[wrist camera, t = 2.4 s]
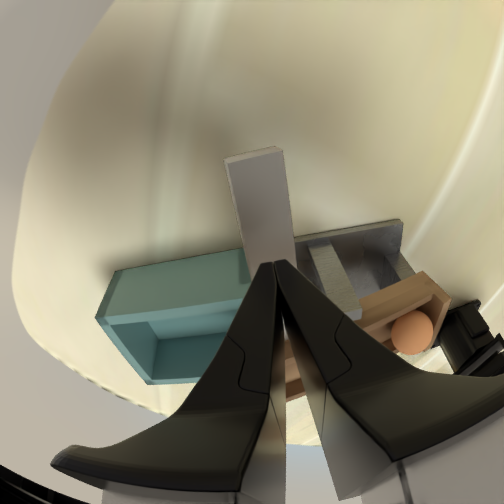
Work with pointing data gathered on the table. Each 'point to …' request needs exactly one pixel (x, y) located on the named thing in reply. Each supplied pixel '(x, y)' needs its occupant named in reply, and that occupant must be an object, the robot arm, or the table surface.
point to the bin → (174, 313)
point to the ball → (412, 332)
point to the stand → (353, 262)
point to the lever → (282, 247)
